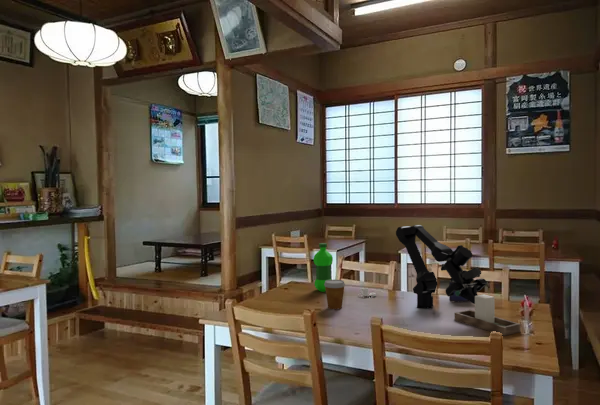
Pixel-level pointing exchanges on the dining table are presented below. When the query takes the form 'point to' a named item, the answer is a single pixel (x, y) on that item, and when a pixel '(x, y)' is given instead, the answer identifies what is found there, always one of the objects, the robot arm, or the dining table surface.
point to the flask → (456, 295)
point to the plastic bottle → (322, 267)
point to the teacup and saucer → (365, 292)
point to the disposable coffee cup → (334, 293)
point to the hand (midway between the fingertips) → (478, 305)
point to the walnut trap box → (488, 323)
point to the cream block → (484, 308)
